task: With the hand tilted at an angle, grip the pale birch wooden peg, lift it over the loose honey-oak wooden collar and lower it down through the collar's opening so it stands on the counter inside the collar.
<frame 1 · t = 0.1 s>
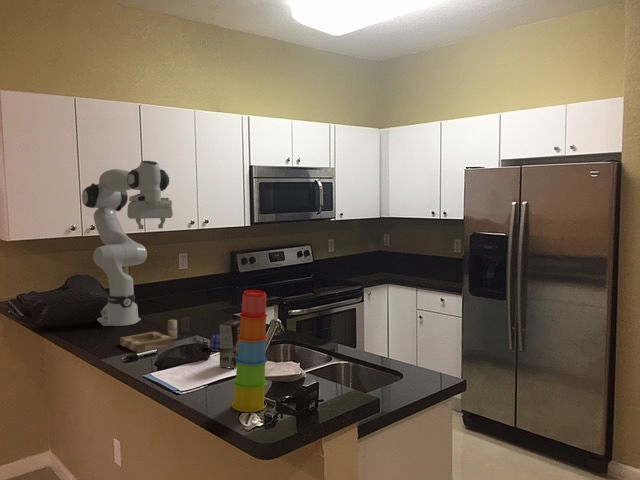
hand: (150, 228, 238), 48 cm above the worktop, tool pointing down, fingers open, 8 cm apart
stacking cups: (249, 407, 159), on the worktop
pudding: (218, 349, 221), on the worktop
coffee box: (232, 365, 199), on the worktop
collar: (147, 344, 225), on the worktop
peg: (172, 338, 235), on the worktop
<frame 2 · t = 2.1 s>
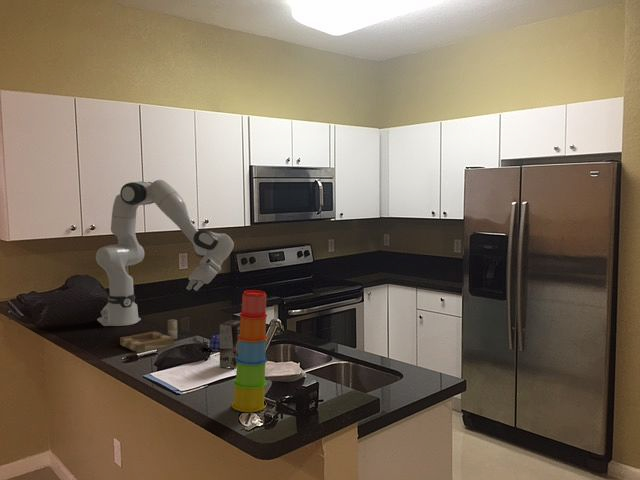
hand: (191, 289, 240), 21 cm above the worktop, tool tilted 40°, fingers open, 8 cm apart
nothing on the worktop moved.
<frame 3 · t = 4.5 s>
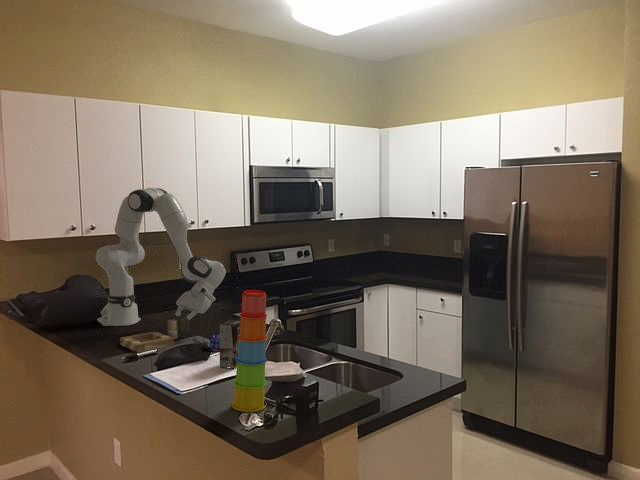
hand: (182, 316, 238), 9 cm above the worktop, tool tilted 45°, fingers open, 8 cm apart
nothing on the worktop moved.
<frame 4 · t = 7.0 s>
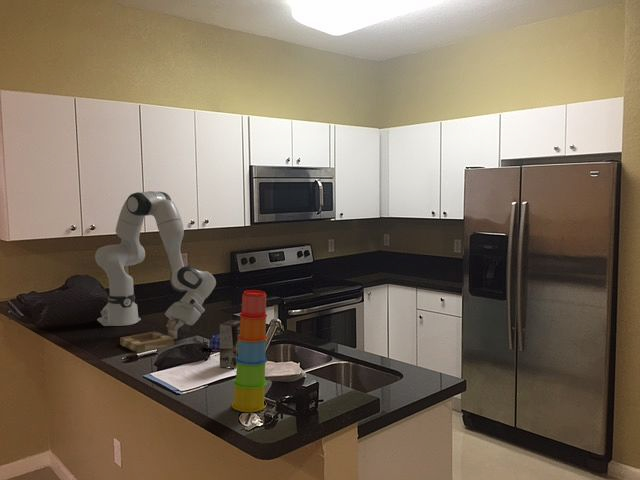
hand: (171, 328, 235), 5 cm above the worktop, tool tilted 45°, fingers closed on peg, 4 cm apart
peg: (172, 338, 235), on the worktop, touching gripper
everything else where it was.
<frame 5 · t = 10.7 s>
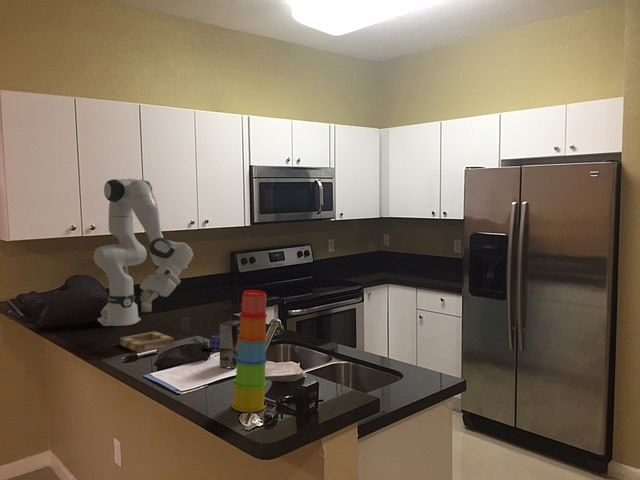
hand: (144, 300, 223), 19 cm above the worktop, tool tilted 45°, fingers closed on peg, 4 cm apart
peg: (146, 311, 224), point 14 cm above the worktop, touching gripper
everything else where it was.
when the fingers open (6 cm above the worktop, at t = 14.3 s): peg drops 1 cm, resting in collar.
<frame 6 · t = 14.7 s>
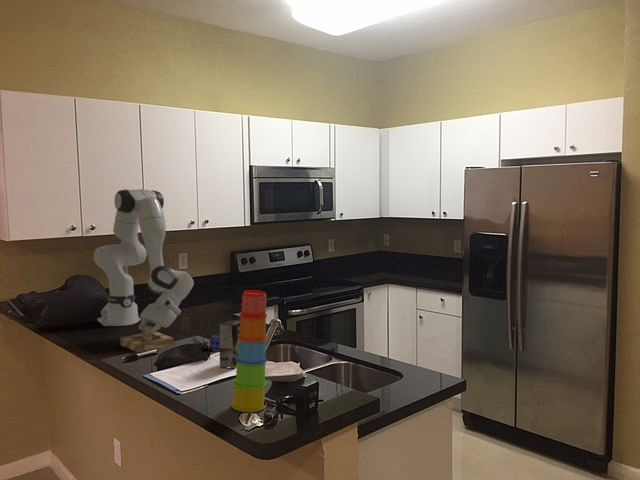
hand: (145, 330, 224), 6 cm above the worktop, tool tilted 45°, fingers open, 8 cm apart
peg: (147, 344, 225), resting in collar
everything else where it was.
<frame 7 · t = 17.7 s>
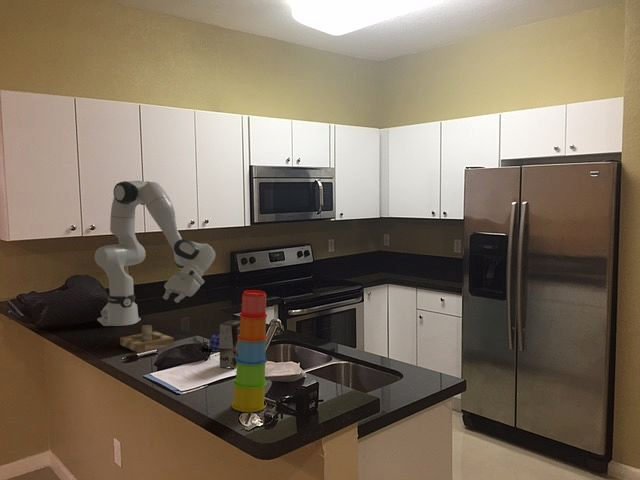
hand: (170, 300, 231), 18 cm above the worktop, tool tilted 45°, fingers open, 8 cm apart
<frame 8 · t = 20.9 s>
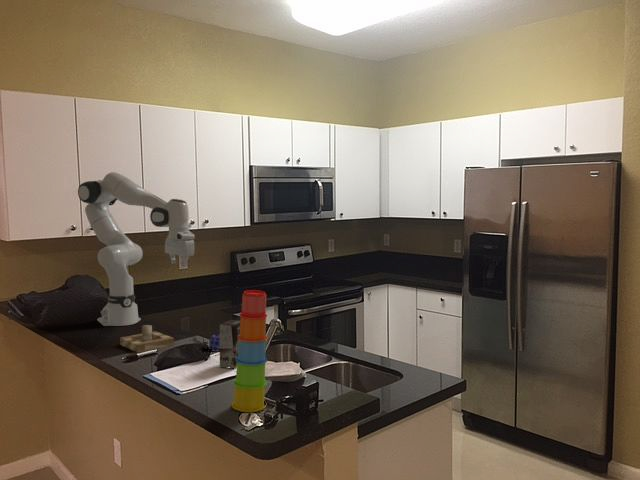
hand: (179, 264, 246), 31 cm above the worktop, tool pointing down, fingers open, 8 cm apart
at the end: peg 0.0 cm off-centre on the collar, point 0.0 cm above the collar's base; peg tilted 0°; the gripper is holding nothing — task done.
